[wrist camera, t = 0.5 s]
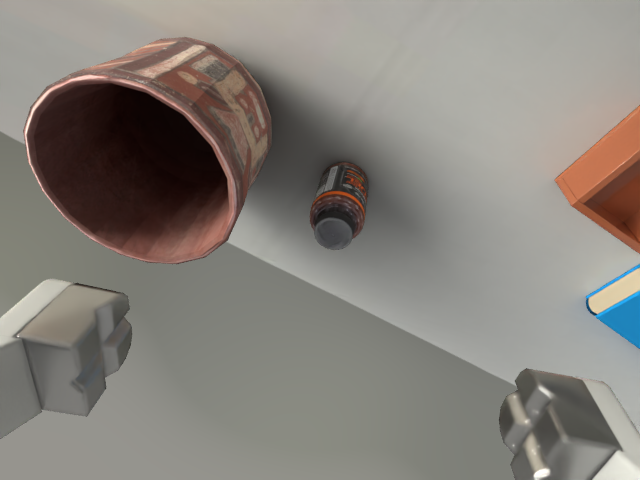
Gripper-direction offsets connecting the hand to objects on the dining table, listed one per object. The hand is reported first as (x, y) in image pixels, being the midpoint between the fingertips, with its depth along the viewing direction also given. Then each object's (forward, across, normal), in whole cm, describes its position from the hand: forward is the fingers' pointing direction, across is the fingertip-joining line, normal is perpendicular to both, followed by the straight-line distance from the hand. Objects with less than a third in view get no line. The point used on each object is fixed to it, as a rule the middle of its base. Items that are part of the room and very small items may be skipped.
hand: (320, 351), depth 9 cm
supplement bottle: (+42, -1, +13) cm, 44 cm away
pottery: (+42, +16, +7) cm, 45 cm away
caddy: (+40, -31, +5) cm, 51 cm away
